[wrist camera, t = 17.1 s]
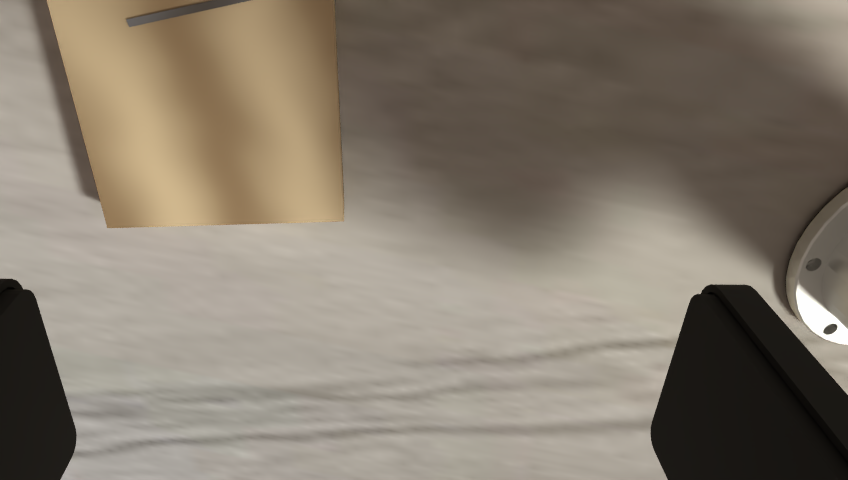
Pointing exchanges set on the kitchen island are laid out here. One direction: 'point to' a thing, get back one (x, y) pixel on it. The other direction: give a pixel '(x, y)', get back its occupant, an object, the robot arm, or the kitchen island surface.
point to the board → (207, 108)
